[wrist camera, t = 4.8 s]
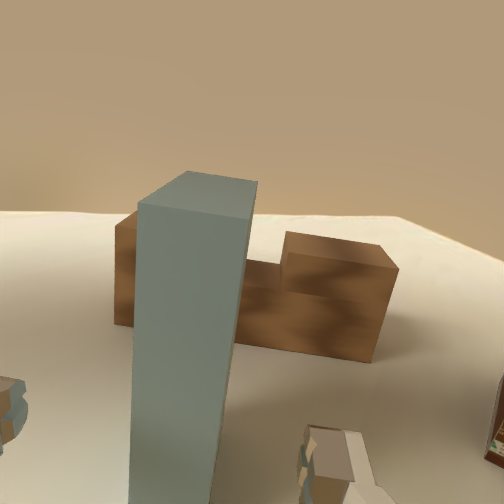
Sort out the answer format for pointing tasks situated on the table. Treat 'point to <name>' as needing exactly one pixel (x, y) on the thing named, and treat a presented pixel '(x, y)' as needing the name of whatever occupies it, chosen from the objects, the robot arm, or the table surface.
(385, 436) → the table surface
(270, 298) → the notched wooden block
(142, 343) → the sage green pillar
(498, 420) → the food container
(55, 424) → the table surface
